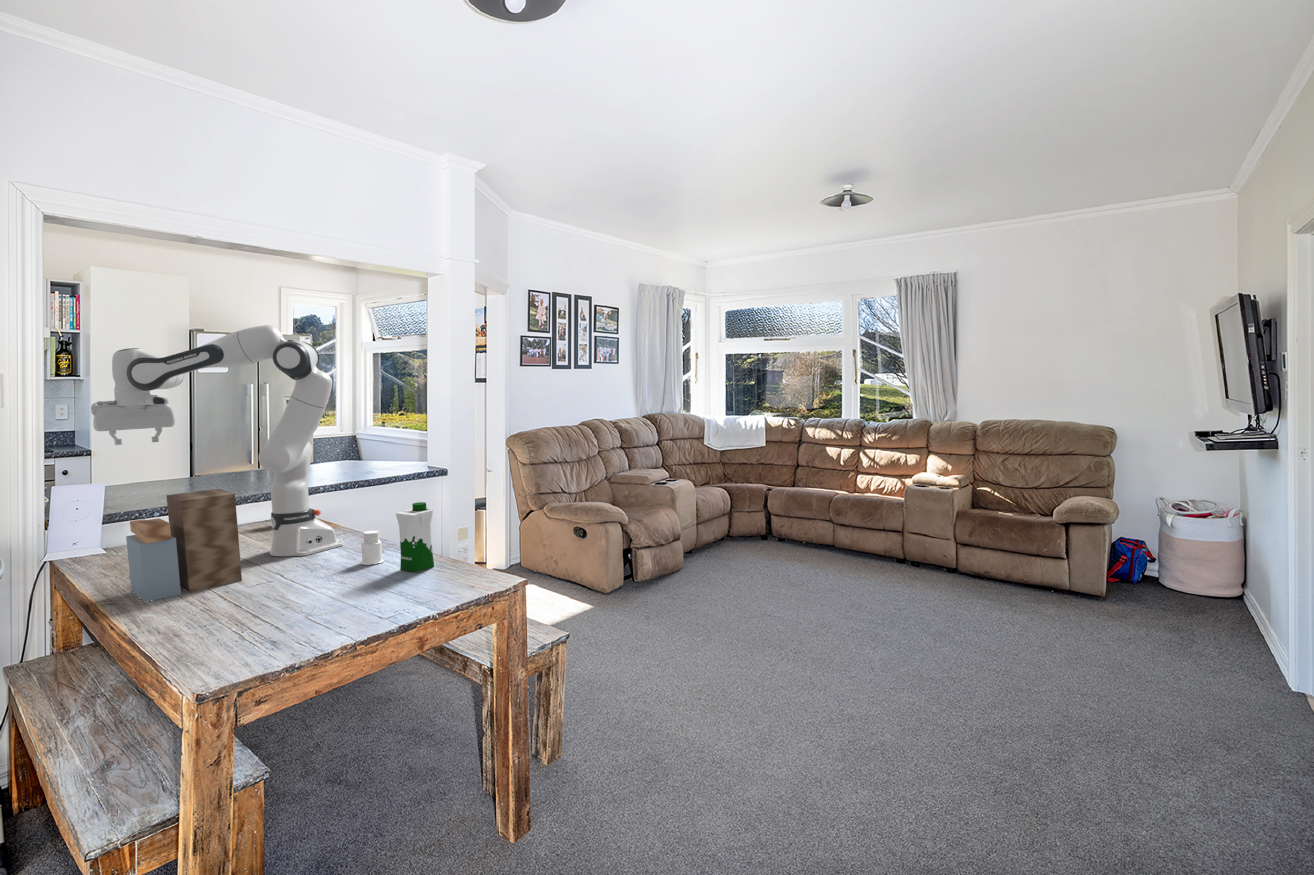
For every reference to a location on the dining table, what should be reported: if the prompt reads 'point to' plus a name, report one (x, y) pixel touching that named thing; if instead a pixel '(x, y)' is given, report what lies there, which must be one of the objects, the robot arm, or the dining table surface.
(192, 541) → the tall stand
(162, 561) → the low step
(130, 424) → the robot arm
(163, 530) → the brown wooden block
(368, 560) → the white pill bottle
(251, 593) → the dining table surface
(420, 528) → the milk carton
